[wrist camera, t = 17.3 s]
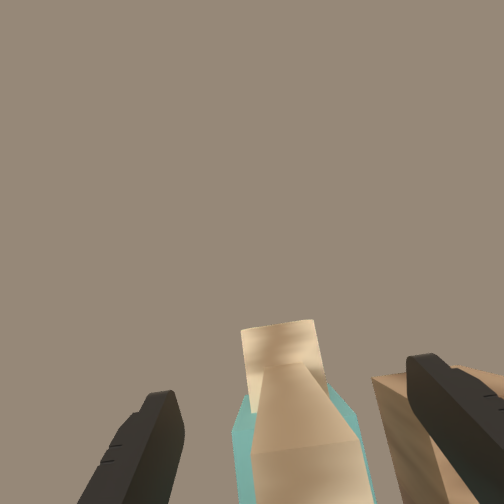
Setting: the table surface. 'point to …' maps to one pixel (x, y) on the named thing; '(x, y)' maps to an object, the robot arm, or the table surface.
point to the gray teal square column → (244, 438)
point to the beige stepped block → (298, 422)
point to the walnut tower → (421, 444)
